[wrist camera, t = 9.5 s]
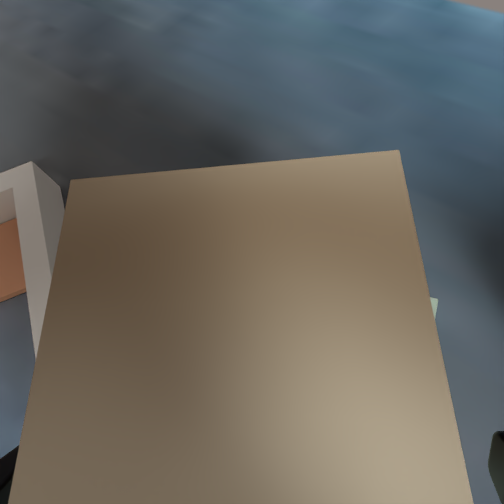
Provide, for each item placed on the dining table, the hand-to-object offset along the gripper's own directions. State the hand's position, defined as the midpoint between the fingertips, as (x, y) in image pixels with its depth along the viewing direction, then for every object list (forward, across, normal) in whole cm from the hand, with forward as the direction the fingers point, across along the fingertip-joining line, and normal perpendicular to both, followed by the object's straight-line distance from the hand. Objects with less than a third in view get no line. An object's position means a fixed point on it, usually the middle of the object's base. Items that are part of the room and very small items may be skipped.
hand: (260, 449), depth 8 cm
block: (+7, 0, +4) cm, 8 cm away
